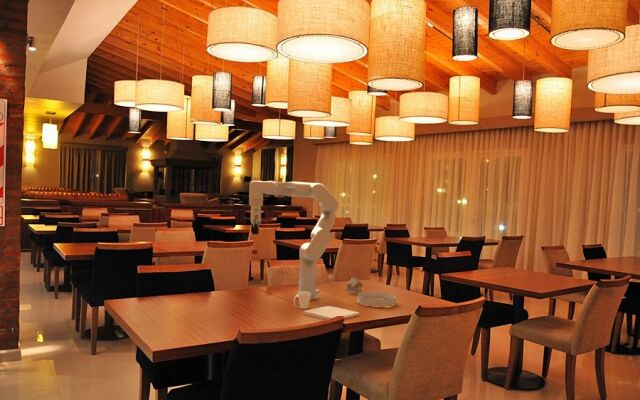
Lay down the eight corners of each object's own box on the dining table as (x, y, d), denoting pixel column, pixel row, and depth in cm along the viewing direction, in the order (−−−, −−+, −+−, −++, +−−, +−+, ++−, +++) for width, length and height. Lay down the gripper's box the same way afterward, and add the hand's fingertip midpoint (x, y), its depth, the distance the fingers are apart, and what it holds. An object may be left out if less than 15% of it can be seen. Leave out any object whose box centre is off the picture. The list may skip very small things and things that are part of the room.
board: (328, 308, 275) (328, 305, 275) (359, 315, 262) (359, 312, 262) (303, 314, 260) (303, 311, 260) (334, 321, 247) (334, 318, 247)
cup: (313, 308, 274) (313, 293, 274) (297, 310, 268) (298, 294, 268) (305, 305, 280) (306, 290, 280) (289, 307, 274) (290, 292, 274)
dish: (373, 298, 310) (374, 290, 309) (404, 305, 294) (404, 296, 294) (348, 302, 294) (349, 294, 294) (379, 310, 278) (379, 300, 278)
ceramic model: (341, 291, 328) (342, 275, 327) (357, 290, 332) (357, 275, 332) (352, 295, 315) (353, 279, 315) (368, 295, 320) (369, 278, 320)
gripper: (264, 203, 283) (263, 235, 284) (260, 202, 300) (259, 232, 300) (250, 202, 282) (249, 234, 282) (247, 202, 298) (246, 232, 299)
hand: (254, 233), depth 291 cm, fingers open, 9 cm apart
